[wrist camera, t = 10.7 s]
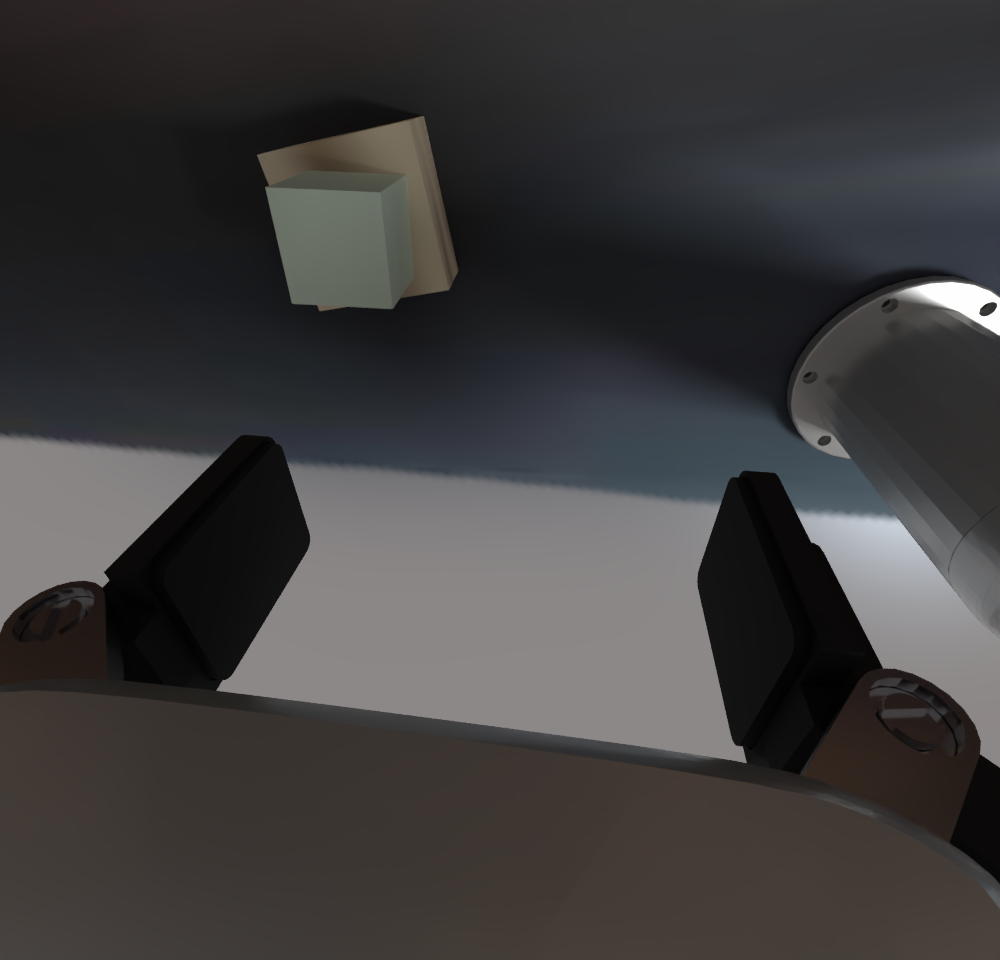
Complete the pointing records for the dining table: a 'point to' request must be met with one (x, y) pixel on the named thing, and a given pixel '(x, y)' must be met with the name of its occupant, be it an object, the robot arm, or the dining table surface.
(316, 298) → the sage cube
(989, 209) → the dining table surface
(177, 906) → the robot arm
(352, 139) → the tan square block
